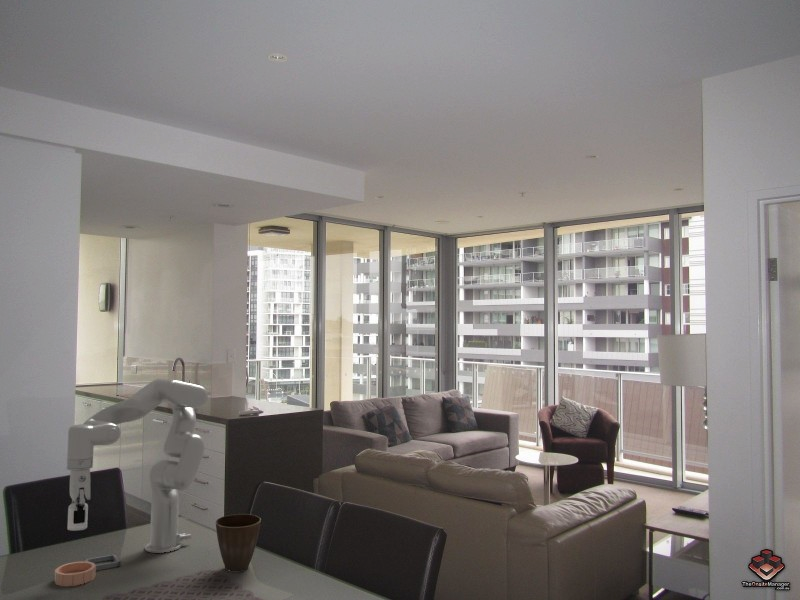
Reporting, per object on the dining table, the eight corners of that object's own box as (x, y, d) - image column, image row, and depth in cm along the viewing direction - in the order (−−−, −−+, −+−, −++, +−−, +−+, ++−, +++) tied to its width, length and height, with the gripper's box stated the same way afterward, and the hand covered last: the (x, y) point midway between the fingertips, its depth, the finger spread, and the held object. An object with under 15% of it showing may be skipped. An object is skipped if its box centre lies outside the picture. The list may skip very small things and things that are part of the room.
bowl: (91, 569, 211) (91, 559, 211) (98, 581, 201) (98, 569, 202) (52, 577, 204) (53, 566, 204) (57, 589, 195) (58, 577, 195)
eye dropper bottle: (78, 532, 201) (79, 493, 201) (64, 530, 203) (66, 491, 203) (89, 528, 205) (90, 490, 205) (76, 526, 207) (77, 488, 207)
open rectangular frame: (114, 558, 221) (114, 554, 222) (120, 566, 214) (120, 561, 215) (84, 563, 216) (84, 559, 216) (88, 571, 209) (89, 567, 209)
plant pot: (265, 571, 212) (267, 522, 212) (221, 579, 204) (222, 529, 205) (251, 557, 224) (253, 511, 225) (209, 565, 217) (210, 517, 218)
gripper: (97, 467, 200) (95, 525, 199) (88, 458, 214) (85, 513, 213) (71, 469, 196) (68, 529, 195) (63, 460, 209) (60, 516, 208)
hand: (77, 520), depth 204 cm, fingers closed on eye dropper bottle, 4 cm apart
